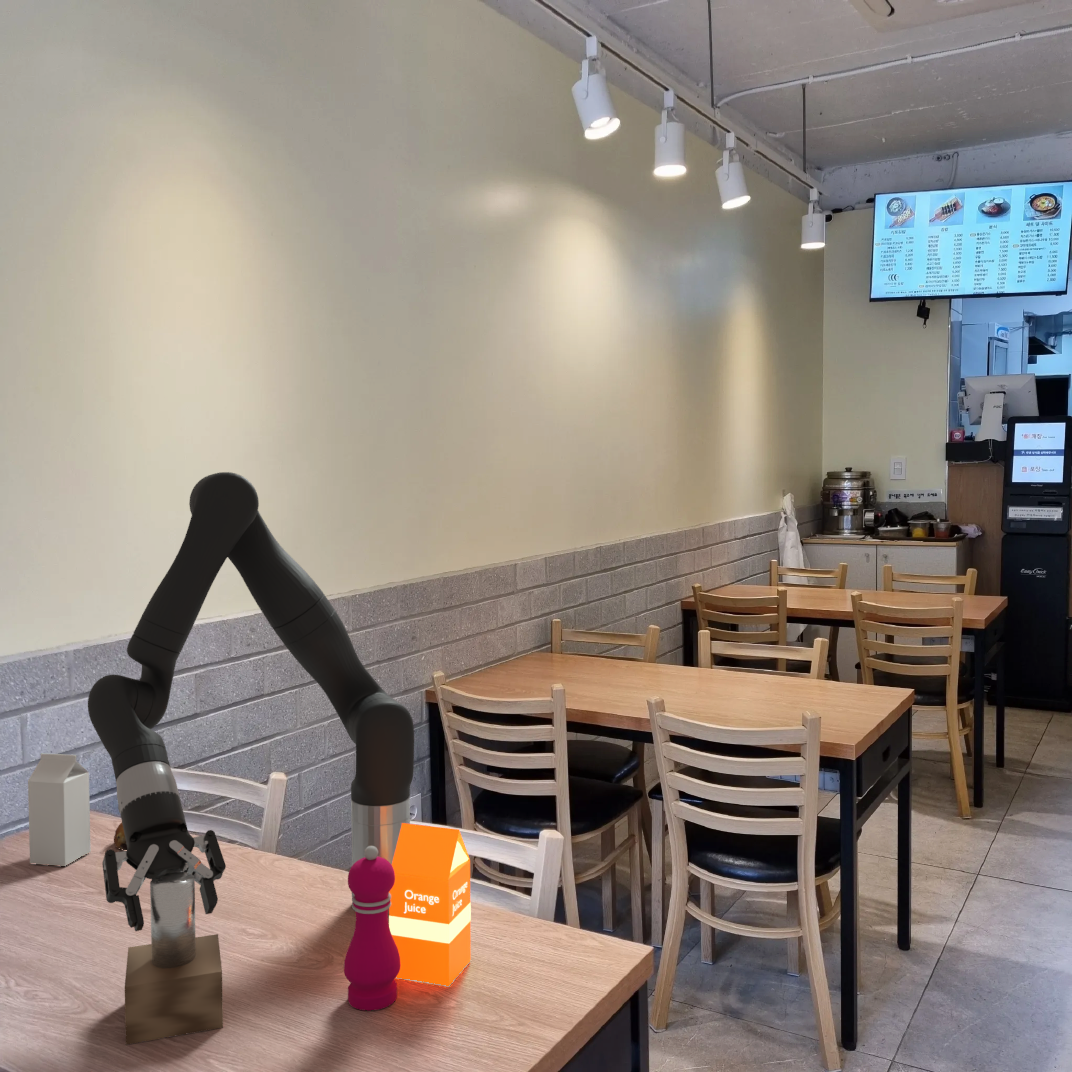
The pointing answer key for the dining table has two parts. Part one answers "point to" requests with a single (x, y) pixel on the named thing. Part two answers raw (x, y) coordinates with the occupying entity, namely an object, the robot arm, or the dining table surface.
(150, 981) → the walnut block
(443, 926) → the orange juice
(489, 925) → the dining table surface
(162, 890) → the shiny metal cylinder
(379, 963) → the pepper mill
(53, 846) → the milk carton
